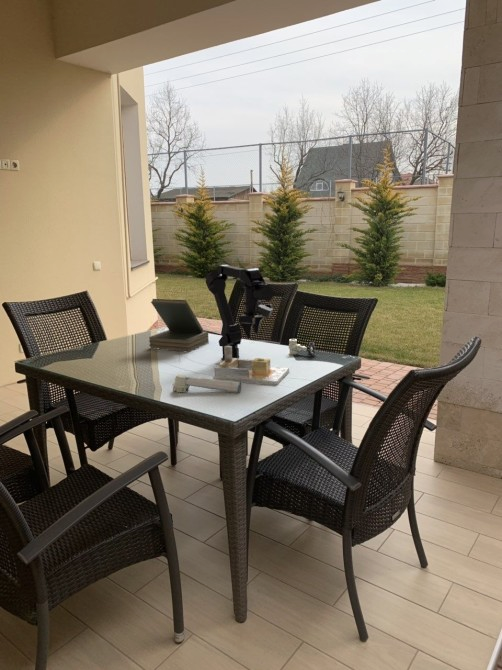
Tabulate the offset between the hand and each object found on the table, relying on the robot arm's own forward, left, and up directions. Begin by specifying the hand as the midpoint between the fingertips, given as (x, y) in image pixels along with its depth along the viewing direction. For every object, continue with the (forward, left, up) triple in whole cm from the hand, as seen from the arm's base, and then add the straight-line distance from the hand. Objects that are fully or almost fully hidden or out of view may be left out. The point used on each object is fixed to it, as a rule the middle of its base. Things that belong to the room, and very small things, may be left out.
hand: (253, 335), depth 205 cm
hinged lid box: (-49, +25, -14) cm, 56 cm away
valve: (+15, +22, -13) cm, 30 cm away
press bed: (+4, -14, -13) cm, 20 cm away
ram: (-6, -14, -11) cm, 19 cm away
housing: (+8, -14, -11) cm, 20 cm away
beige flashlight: (-6, -36, -14) cm, 39 cm away
